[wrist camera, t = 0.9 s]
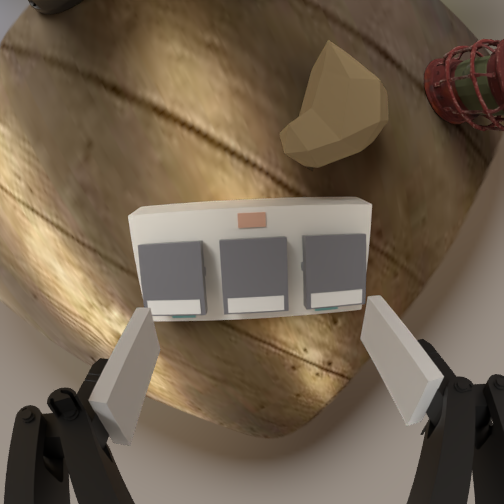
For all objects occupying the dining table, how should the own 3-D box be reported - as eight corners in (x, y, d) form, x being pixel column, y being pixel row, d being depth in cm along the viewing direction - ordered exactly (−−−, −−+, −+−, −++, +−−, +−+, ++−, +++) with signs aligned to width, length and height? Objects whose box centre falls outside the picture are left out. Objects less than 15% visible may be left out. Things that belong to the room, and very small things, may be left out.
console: (141, 206, 36) (124, 217, 31) (356, 196, 37) (375, 206, 31) (157, 303, 41) (146, 326, 36) (349, 293, 42) (363, 315, 36)
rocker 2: (302, 235, 33) (305, 236, 31) (360, 233, 33) (366, 234, 31) (303, 304, 34) (306, 310, 32) (359, 299, 34) (365, 304, 32)
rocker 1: (143, 243, 32) (137, 245, 30) (202, 240, 33) (200, 241, 31) (150, 311, 33) (145, 316, 31) (207, 310, 33) (205, 315, 31)
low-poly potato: (352, 58, 31) (280, 32, 25) (421, 76, 23) (353, 37, 18) (324, 156, 39) (253, 152, 34) (381, 193, 32) (308, 194, 26)
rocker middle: (220, 239, 33) (219, 240, 31) (284, 236, 33) (286, 237, 31) (225, 309, 33) (224, 314, 32) (286, 306, 34) (288, 311, 32)
